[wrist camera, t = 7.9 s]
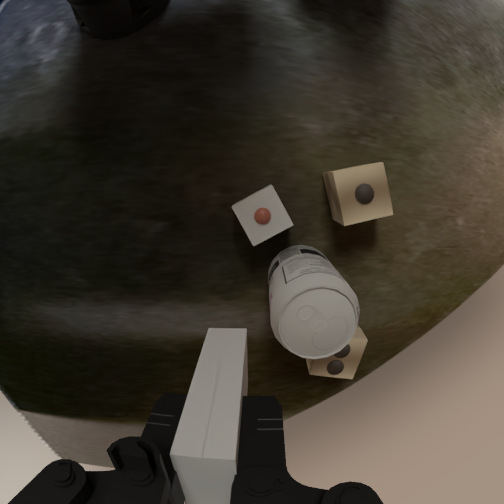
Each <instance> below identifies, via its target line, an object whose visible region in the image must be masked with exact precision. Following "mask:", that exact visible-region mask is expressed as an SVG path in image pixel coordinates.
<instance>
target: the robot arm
mask: <svg viewBox="0 0 504 504" xmlns="http://www.w3.org/2000/svg"><path fill="white" fill-rule="evenodd" d="M67 1H68V2H69V3H70V5H71V7H72V10H73V13H74V15H75V18H76V20H77V23H78V24H79V26H80V27H81V28H82V29H83V30H84V31H85V32H87V33H88V34H89V35H91V36H93V37H95V38H99V39H115V38H119V37H123V36H126V35H128V34H131V33H133V32H135V31H137V30H139V29H140V28H142V27H144V26H145V25H147V24H148V23H149V22H150V21H152V20H153V19H154V18H155V17H156V16H157V15H158V14H159V13H160V12H161V11H162V9H163V8H164V7H165V5H166V4H167V2H168V0H67ZM247 388H248V369H247V329H246V328H209V329H208V332H207V335H206V338H205V341H204V344H203V347H202V351H201V354H200V357H199V360H198V363H197V367H196V370H195V373H194V376H193V379H192V383H191V386H190V389H189V392H188V394H176V393H165V394H164V395H163V396H161V397H160V398H159V399H158V400H157V401H156V402H155V405H154V407H153V409H152V412H151V415H150V416H149V419H148V421H147V422H148V423H147V424H146V426H145V428H144V431H143V433H142V435H141V437H126V438H122V439H119V440H117V441H116V442H114V443H112V444H111V445H110V447H109V448H108V449H107V452H108V455H109V457H110V459H111V461H112V463H113V465H114V467H115V470H111V471H85V470H84V468H83V467H82V466H81V465H80V464H79V463H77V462H75V461H72V460H69V459H60V460H57V461H53V462H52V463H50V464H49V465H47V466H46V467H45V468H44V469H43V470H42V471H41V472H40V473H39V474H38V475H37V476H36V477H35V478H34V479H33V480H32V481H31V482H30V483H29V484H28V485H27V486H25V487H24V488H23V489H22V491H20V492H19V493H18V494H17V495H16V496H15V497H14V498H13V499H12V500H11V501H10V502H9V503H8V504H184V501H185V503H186V504H383V502H382V501H381V500H380V498H379V496H378V495H377V493H376V492H375V491H374V490H372V488H371V487H369V486H367V485H365V484H362V483H358V482H346V483H340V484H338V485H336V486H334V487H332V488H330V489H329V490H324V489H318V488H312V487H308V486H305V485H302V484H300V483H298V482H297V481H295V480H294V479H293V478H292V477H291V476H290V475H289V473H288V471H287V467H286V459H285V444H284V431H283V420H282V406H281V405H280V403H279V402H278V400H277V399H276V398H275V396H247Z"/></svg>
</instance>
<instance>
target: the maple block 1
mask: <svg viewBox="0 0 504 504" xmlns="http://www.w3.org/2000/svg"><path fill="white" fill-rule="evenodd" d="M322 174H323V178H324V183H325V187H326V191H327V196H328V200H329V205H330V210H331V214H332V219H333V220H334V221H336V222H338V223H340V224H341V225H343V226H347V225H351V224H356V223H360V222H364V221H368V220H373V219H377V218H381V217H385V216H390V215H393V210H392V204H391V199H390V193H389V188H388V183H387V178H386V173H385V169H384V164H383V162H379V163H371V164H365V165H360V166H354V167H349V168H344V169H340V170H335V171H330V172H325V173H322Z"/></svg>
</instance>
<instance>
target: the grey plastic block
mask: <svg viewBox="0 0 504 504" xmlns="http://www.w3.org/2000/svg"><path fill="white" fill-rule="evenodd" d="M232 209H233V211H234V213H235V214H236V216H237V218H238V220H239V221H240V223H241V225H242V227H243V229H244V230H245V232H246V234H247V236H248V238H249V239H250V241H251V243H252V245H253V246H255V245H257V244H259V243H261V242H263V241H265V240H267V239H269V238H270V237H272V236H274V235H276V234H278V233H280V232H282V231H284V230H285V229H287V228H289V227H291V226H293V223H292V221H291V219H290V217H289V215H288V214H287V212H286V210H285V208H284V206H283V204H282V202H281V201H280V199H279V197H278V195H277V193H276V191H275V189H274V188H273V186H272V185H271V184H270V185H268V186H267V187H265V188H263V189H261V190H259V191H257V192H255V193H254V194H252V195H250V196H248V197H246V198H244V199H243V200H241V201H239V202H237V203H235V204H234V205H233V206H232Z"/></svg>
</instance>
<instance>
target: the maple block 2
mask: <svg viewBox="0 0 504 504" xmlns="http://www.w3.org/2000/svg"><path fill="white" fill-rule="evenodd" d="M367 341H368V340H367V338H366V336H365V335H364V333H363V332H362V330H361V329H360V327H359V325H357V328H356V331H355V333H354V335H353V337H352V339H351V341H350V342H349V343H348V344H347V345H346V346H345V347H344V348H343V349H342V350H341V351H339V352H337V353H335V354H333V355H331V356H329V357H326V358H320V359H309V358H306V362H307V366H308V370H309V375H317V376H326V377H335V378H345V379H353V377H354V374H355V372H356V369H357V367H358V364H359V362H360V359H361V357H362V354H363V352H364V349H365V346H366V344H367Z"/></svg>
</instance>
